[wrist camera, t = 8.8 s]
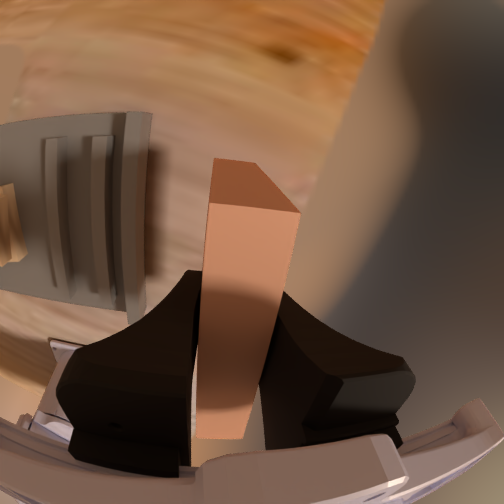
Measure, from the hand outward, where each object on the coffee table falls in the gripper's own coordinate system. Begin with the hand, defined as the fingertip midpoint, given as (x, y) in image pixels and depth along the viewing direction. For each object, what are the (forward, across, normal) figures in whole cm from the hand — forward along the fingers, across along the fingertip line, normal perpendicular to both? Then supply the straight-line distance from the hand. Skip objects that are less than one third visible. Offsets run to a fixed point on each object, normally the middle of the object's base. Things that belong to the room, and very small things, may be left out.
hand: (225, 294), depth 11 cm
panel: (+4, 0, 0) cm, 4 cm away
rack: (+9, +14, 0) cm, 17 cm away
